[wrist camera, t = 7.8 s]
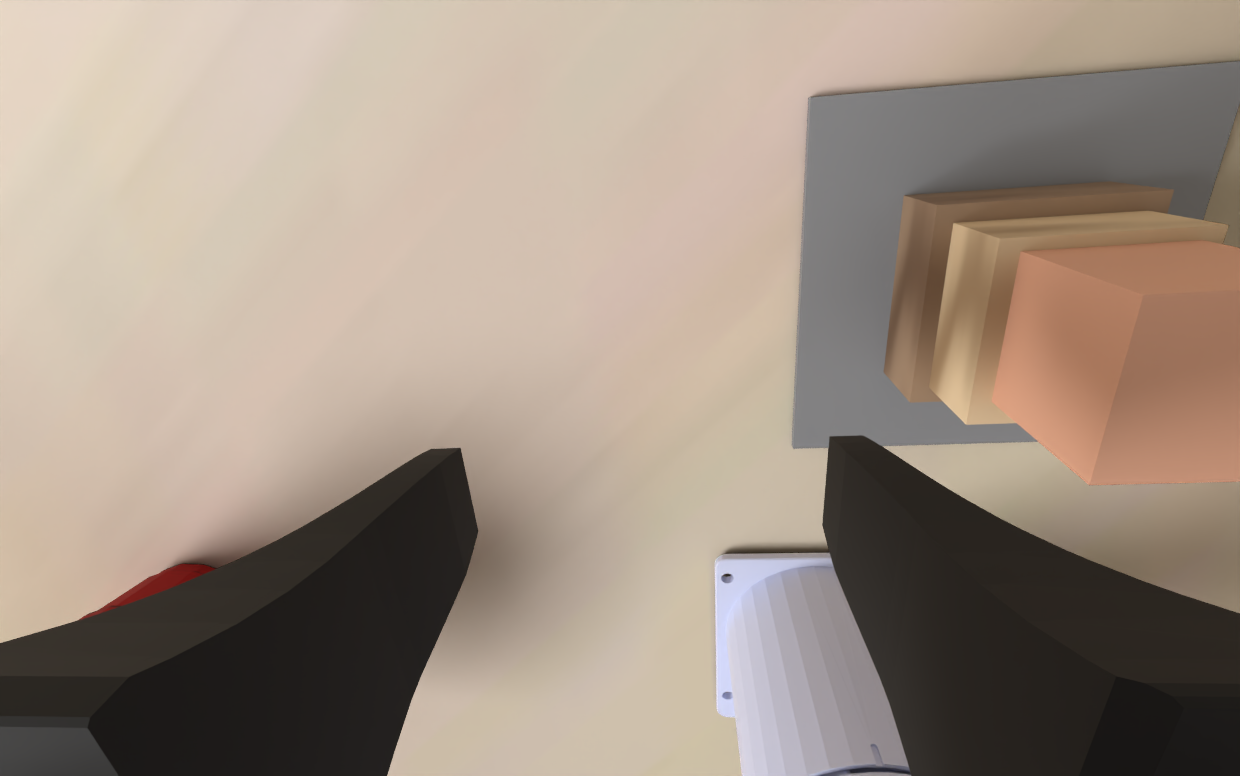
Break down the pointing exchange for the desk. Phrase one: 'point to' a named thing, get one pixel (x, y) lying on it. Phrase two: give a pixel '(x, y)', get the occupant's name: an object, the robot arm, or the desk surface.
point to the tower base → (929, 251)
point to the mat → (967, 161)
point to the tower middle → (987, 283)
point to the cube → (1128, 360)
